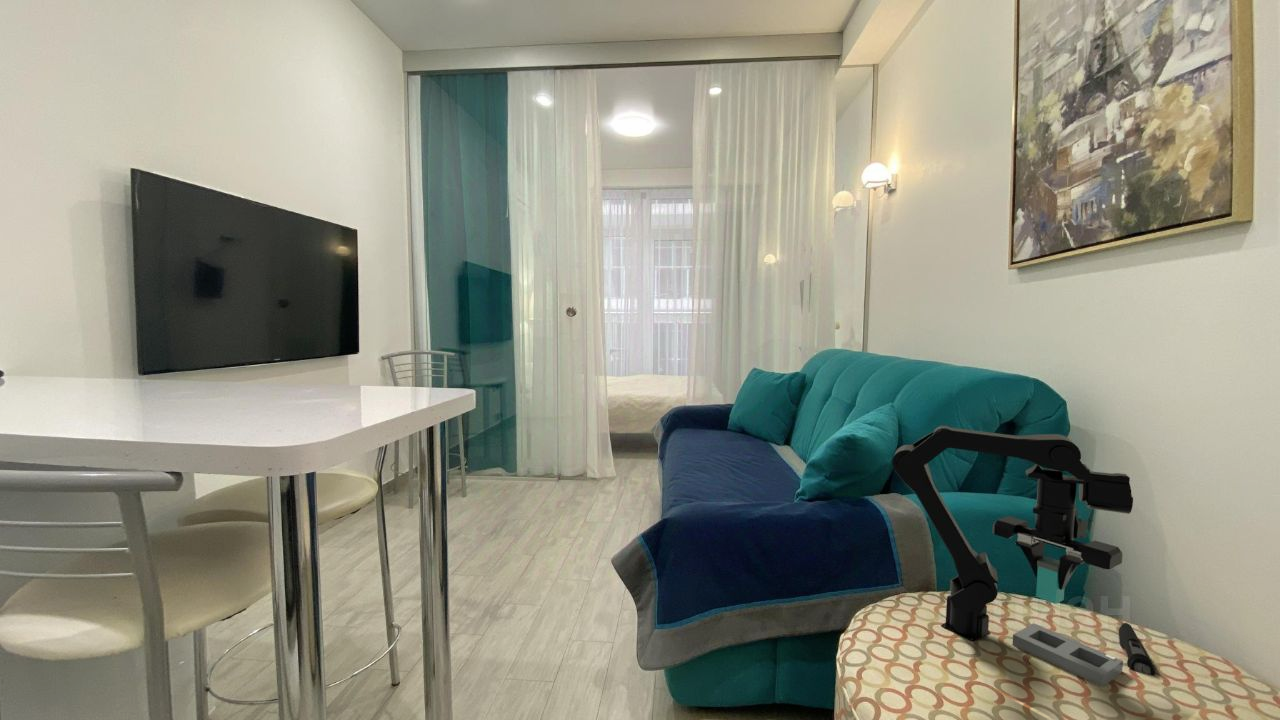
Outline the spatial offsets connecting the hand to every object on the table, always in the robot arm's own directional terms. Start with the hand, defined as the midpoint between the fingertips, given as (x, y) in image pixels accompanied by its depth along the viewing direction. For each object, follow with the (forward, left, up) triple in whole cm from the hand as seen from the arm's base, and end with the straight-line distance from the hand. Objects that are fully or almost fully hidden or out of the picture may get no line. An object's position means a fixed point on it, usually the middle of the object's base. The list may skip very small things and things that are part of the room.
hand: (1050, 585), depth 102 cm
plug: (0, 0, -2) cm, 2 cm away
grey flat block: (+3, 0, -13) cm, 13 cm away
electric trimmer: (+8, +13, -14) cm, 21 cm away
